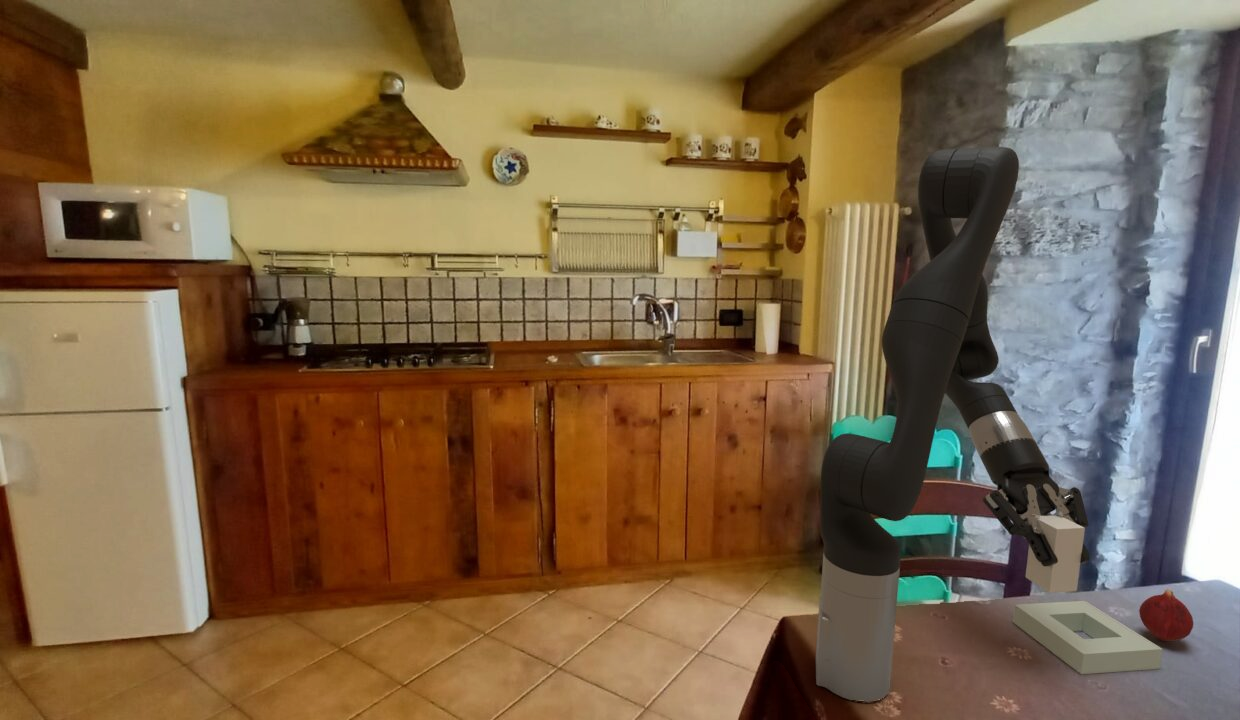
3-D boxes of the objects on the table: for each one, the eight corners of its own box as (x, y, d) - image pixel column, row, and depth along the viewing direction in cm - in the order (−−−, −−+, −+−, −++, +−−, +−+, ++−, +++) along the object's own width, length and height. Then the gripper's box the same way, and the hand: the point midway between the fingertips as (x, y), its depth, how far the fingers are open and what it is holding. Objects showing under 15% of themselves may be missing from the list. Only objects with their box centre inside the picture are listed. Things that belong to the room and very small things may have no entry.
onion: (1200, 655, 83) (1208, 604, 82) (1153, 650, 84) (1161, 599, 83) (1170, 631, 89) (1178, 583, 87) (1127, 626, 90) (1134, 578, 89)
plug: (1049, 592, 77) (1057, 529, 75) (1025, 577, 81) (1032, 516, 79) (1076, 591, 77) (1084, 527, 76) (1051, 575, 81) (1058, 515, 80)
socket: (1081, 674, 79) (1083, 654, 78) (1013, 622, 91) (1014, 604, 90) (1159, 668, 80) (1162, 648, 80) (1082, 618, 92) (1084, 600, 91)
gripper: (976, 437, 83) (1036, 557, 73) (1067, 434, 84) (1137, 552, 74) (949, 461, 89) (1000, 575, 79) (1033, 458, 90) (1094, 569, 80)
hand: (1066, 563), depth 76 cm, fingers closed on plug, 4 cm apart
